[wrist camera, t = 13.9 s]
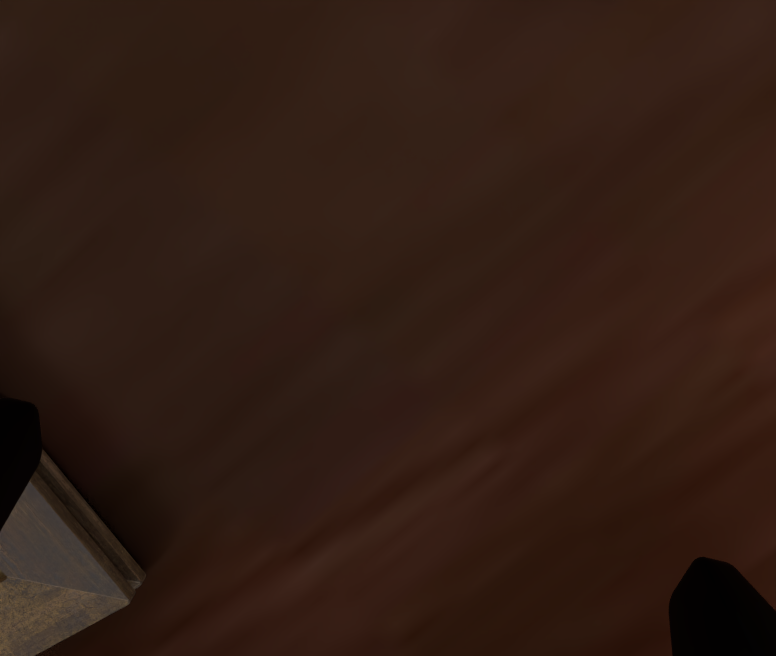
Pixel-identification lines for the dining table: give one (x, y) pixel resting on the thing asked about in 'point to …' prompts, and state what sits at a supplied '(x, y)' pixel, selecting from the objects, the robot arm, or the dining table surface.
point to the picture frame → (58, 566)
